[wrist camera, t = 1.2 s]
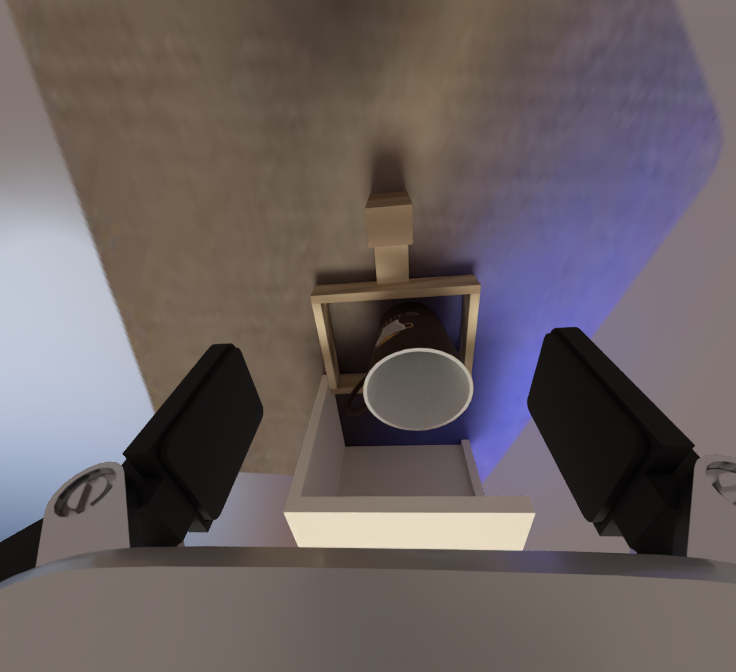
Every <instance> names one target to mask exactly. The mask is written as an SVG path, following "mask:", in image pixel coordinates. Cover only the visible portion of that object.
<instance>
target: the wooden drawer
mask: <svg viewBox="0 0 736 672" xmlns="http://www.w3.org/2000/svg"><path fill="white" fill-rule="evenodd" d="M365 215H366V225H367V236H368V247H369V248H371V247H374V252H375V264H376V276H377V281H370V282H356V283H341V284H327V285H316V286H315V288H314V290H313V292H312V294H311V296H310V297H311V302H312V307H313V311H314V316H315V321H316V326H317V330H318V335H319V340H320V345H321V350H322V354H323V359H324V364H325V369H326V373H327V378H328V383H329V388H330V393H331V394H350V393H351V392H352V391H353V389H354V388H355V387H356V385H357V384H358V383H359V382H360V381H361V380H362V379H363V377H364V376H365V375H366V374H367V373H348V374H340V371H339V366H338V360H337V355H336V349H335V344H334V338H333V333H332V327H331V321H330V316H329V310H328V305H327V303H336V302H352V301H368V300H384V299H399V298H415V297H431V296H447V295H463V294H464V296H463V309H462V322H461V336H460V349H459V355H460V357H461V359H462V360H463V362H464V364H465V366H466V367H467V369H468V371H469V373H470V374H471V375H472V365H473V356H474V346H475V337H476V327H477V318H478V308H479V298H480V289H481V284H480V283H479V281H478V280H477V278H476V277H475V275H474V274H472V275H457V276H443V277H428V278H414V279H409V260H408V244H413V217H412V202H411V200H410V198H409V196H408V193H407V191H398V192H388V193H377V194H370V196H369V199H368V201H367V204H366V207H365ZM363 386H364V385H363ZM363 386H362V387H361V388H360V390H359V391H358V392H357V393H363Z"/></svg>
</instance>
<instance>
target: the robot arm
mask: <svg viewBox="0 0 736 672" xmlns="http://www.w3.org/2000/svg"><path fill="white" fill-rule="evenodd" d="M527 405H528V409H529V412H530V414H531V416H532V418H533V420H534V421H535V423H536V425H537V427H538V429H539V431H540V433H541V435H542V437H543V439H544V441H545V443H546V445H547V447H548V449H549V450H550V452H551V454H552V456H553V458H554V460H555V462H556V464H557V466H558V468H559V470H560V472H561V474H562V476H563V478H564V480H565V481H566V483H567V485H568V487H569V489H570V491H571V493H572V495H573V497H574V499H575V501H576V503H577V505H578V507H579V509H580V511H581V513H582V514H583V516H584V517H585V519H586V520H587V521H589V522H593V524H594V526H595V528H596V530H597V532H598V533H599V535H600V536H623V537H624V539H625V540H626V542H627V544H628V545H629V547H630V552H629V554H626V553H625V554H624V553H599V552H597V553H596V552H569V551H566V552H565V551H517V550H464V549H400V548H326V547H218V546H217V547H216V546H214V547H213V546H205V547H204V546H203V547H202V546H199V547H185V546H184V541H183V540H184V538H185V536H186V534H187V532H188V531H189V532H208V531H209V529H210V527H211V524H212V522H213V520H215V519H217V518H218V517H219V516H220V514H221V512H222V509H223V507H224V505H225V503H226V500H227V498H228V496H229V493H230V491H231V488H232V486H233V484H234V482H235V480H236V477H237V475H238V473H239V470H240V468H241V466H242V463H243V461H244V459H245V456H246V454H247V452H248V450H249V447H250V445H251V443H252V440H253V438H254V436H255V433H256V431H257V429H258V426H259V424H260V422H261V419H262V417H263V406H262V403H261V401H260V398H259V396H258V393H257V391H256V388H255V386H254V383H253V380H252V378H251V375H250V373H249V370H248V368H247V365H246V363H245V360H244V358H243V355H242V352H241V350H240V349H239V348H236V347H235V346H234V345H233V344H231V343H230V344H214V345H212V346H210V347H209V349H208V350H207V351H206V352H205V354H204V355H203V356H202V357H201V358H200V360H199V361H198V362H197V363H196V365H195V366H194V367H193V368H192V369H191V371H190V372H189V373H188V374H187V375H186V377H185V378H184V379H183V380H182V382H181V383H180V384H179V385H178V386H177V388H176V389H175V390H174V391H173V393H172V394H171V395H170V396H169V397H168V399H167V400H166V401H165V402H164V404H163V405H162V406H161V407H160V408H159V410H158V411H157V412H156V413H155V415H154V416H153V417H152V418H151V420H150V421H149V422H148V423H147V424H146V426H145V427H144V428H143V429H142V430H141V432H140V433H139V434H138V435H137V437H136V438H135V439H134V440H133V442H132V443H131V444H130V445H129V446H128V447H127V449H126V450H125V451H124V452H123V455H124V456H125V457H126V461H125V462H124V463H123V464H122V465H120V464H118V463H117V462H105V463H100V464H97V465H94V466H92V467H89V468H87V469H85V470H83V471H82V472H80V473H78V474H77V475H75V476H74V477H72V478H71V479H70V480H68V481H67V482H66V483H64V484H63V485H62V486H61V488H60V489H59V490H58V491H57V492H56V493H55V494H54V495H53V497H52V498H51V499H50V501H49V502H48V504H47V507H46V510H45V513H44V518H42V519H41V520H39V521H37V522H35V523H33V524H32V525H30V526H28V527H26V528H25V529H23V530H21V531H19V532H17V533H16V534H14V535H12V536H11V537H9V538H7V539H5V540H3V541H2V542H0V672H736V458H734V457H731V456H723V455H717V454H715V455H705V456H703V457H701V458H700V457H699V456H698V455H697V454H696V453H695V452H694V451H693V447H694V446H695V445H694V444H693V443H692V442H691V441H690V440H689V439H688V438H687V437H686V436H685V435H684V434H683V433H682V432H681V431H680V430H679V429H678V428H677V427H676V426H675V425H674V424H673V423H672V422H671V421H670V420H669V419H668V418H667V416H665V415H664V413H663V412H662V411H661V410H660V409H659V408H658V407H657V406H656V405H655V404H654V403H653V402H652V401H651V400H650V399H649V398H648V397H647V396H646V395H645V394H644V393H643V392H642V391H641V390H640V389H639V388H638V387H637V386H635V384H634V383H633V382H632V381H631V380H630V379H629V378H628V377H627V376H626V375H625V374H624V373H623V372H622V371H621V370H620V369H619V368H618V367H617V366H616V365H615V364H614V363H613V362H612V361H611V360H610V359H609V358H608V357H607V356H606V355H605V354H604V353H603V352H602V351H601V350H600V349H599V348H598V347H597V346H596V345H595V344H594V343H593V342H592V341H591V340H590V339H589V338H588V337H587V336H586V335H585V334H584V333H583V332H582V331H581V330H580V329H579V328H578V327H566V328H554V329H553V330H552V331H551V333H548V334H546V335H545V337H544V341H543V344H542V348H541V352H540V355H539V359H538V363H537V366H536V370H535V374H534V377H533V381H532V385H531V388H530V392H529V395H528V400H527Z"/></svg>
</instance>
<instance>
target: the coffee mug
mask: <svg viewBox="0 0 736 672" xmlns="http://www.w3.org/2000/svg"><path fill="white" fill-rule="evenodd" d="M363 385H364V386H363ZM362 386H363V396H364V400H365V404H364V405H363V406H361V407H360V408H358V409H356V410H351V409H350V405H351V402H352V400H353V399H354V397H355V396H356V394H357V392H358V391H359V390H360V388H361V387H362ZM472 396H473V380H472V377H471V374H470V373H469V371H468V369H467V367H466V366H465V364H464V362H463V360H462V359H461V357H460V355H459V353H458V352H457V350H456V348H455V346H454V345H453V343H452V341H451V340H450V338H449V336H448V334H447V333H446V331H445V329H444V327H443V326H442V324H441V322H440V320H439V319H438V317H437V315H436V314H435V312H434V311H433V310H432V309H430V308H429V307H428V306H426V305H423V304H421V303H416V302H407V303H402V304H399V305H396V306H394V307H393V308H391V309H390V310H389V311H387V313H386V314H385V315H384V317H383V319H382V320H381V324H380V328H379V331H378V335H377V339H376V342H375V346H374V349H373V353H372V357H371V360H370V364H369V368H368V371H367V374H366V375H365V376H364V377H363V379H362V380H361V381H360V382H359V383H358V384H357V385H356V387H355V388H354V389H353V391H352V392H351V393H350V395H349V396H348V398H347V399H346V402H345V405H344V412H345V414H346V415H348V416H350V417H356V416H359V415H361V414H363V413H365V412H366V411H367V410H368V409H369V410H370V411H371V412H372V414H373V415H374V416H375V417H377V418H378V419H379V420H380V421H382V422H384V423H386V424H388V425H390V426H392V427H395V428H398V429H403V430H412V431H421V430H430V429H434V428H438V427H441V426H443V425H446V424H448V423H450V422H451V421H453V420H455V419H456V418H457V417H459V416H460V415H461V414H462V413H463V412H464V411H465V410H466V408H467V407H468V405H469V403H470V402H471V399H472Z"/></svg>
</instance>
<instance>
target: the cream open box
mask: <svg viewBox="0 0 736 672" xmlns="http://www.w3.org/2000/svg"><path fill="white" fill-rule="evenodd" d="M284 515H285V517H286V519H287V521H288V524H289V526H290V528H291V531H292V533H293V535H294V538H295V540H296V542H297V545H298V547H326V548H400V549H464V550H517V551H522V550H523V548H524V545H525V542H526V539H527V536H528V533H529V530H530V527H531V524H532V522H533V519H534V516H535V511H534V508H533V506H532V503H531V501H530V498H529V496H484V492H483V488H482V485H481V481H480V478H479V474H478V470H477V467H476V463H475V460H474V456H473V452H472V449H471V445H470V442H469V439H468V440H461V445H408V446H352V447H345V443H344V438H343V433H342V428H341V423H340V418H339V413H338V408H337V403H336V398H335V394H331V393H330V388H329V383H328V378H327V375H322V379H321V382H320V386H319V389H318V393H317V396H316V400H315V403H314V407H313V410H312V414H311V417H310V421H309V424H308V428H307V431H306V435H305V438H304V442H303V445H302V449H301V452H300V456H299V459H298V463H297V467H296V470H295V474H294V477H293V481H292V484H291V488H290V491H289V495H288V498H287V502H286V505H285V509H284Z"/></svg>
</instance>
